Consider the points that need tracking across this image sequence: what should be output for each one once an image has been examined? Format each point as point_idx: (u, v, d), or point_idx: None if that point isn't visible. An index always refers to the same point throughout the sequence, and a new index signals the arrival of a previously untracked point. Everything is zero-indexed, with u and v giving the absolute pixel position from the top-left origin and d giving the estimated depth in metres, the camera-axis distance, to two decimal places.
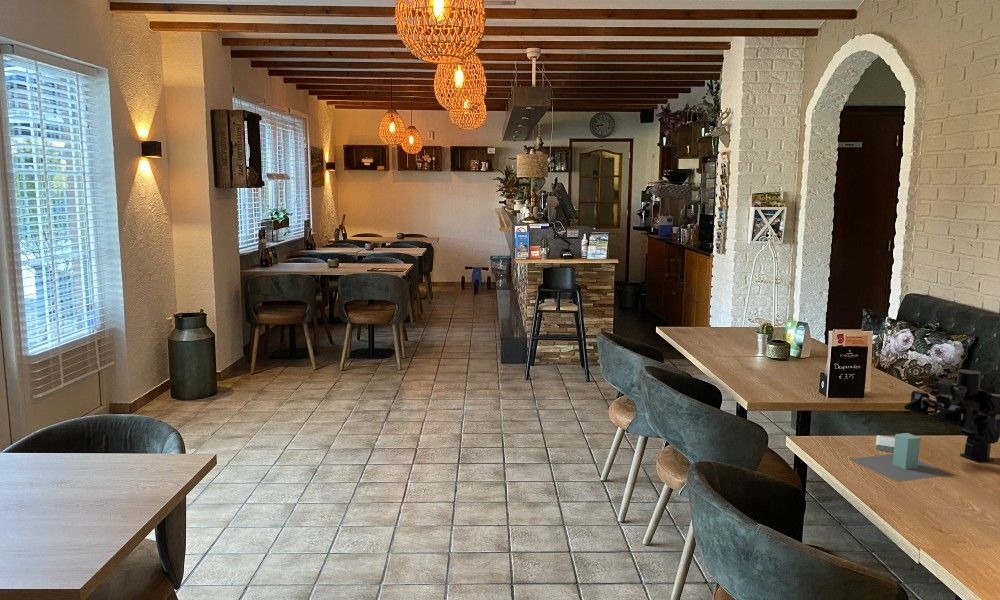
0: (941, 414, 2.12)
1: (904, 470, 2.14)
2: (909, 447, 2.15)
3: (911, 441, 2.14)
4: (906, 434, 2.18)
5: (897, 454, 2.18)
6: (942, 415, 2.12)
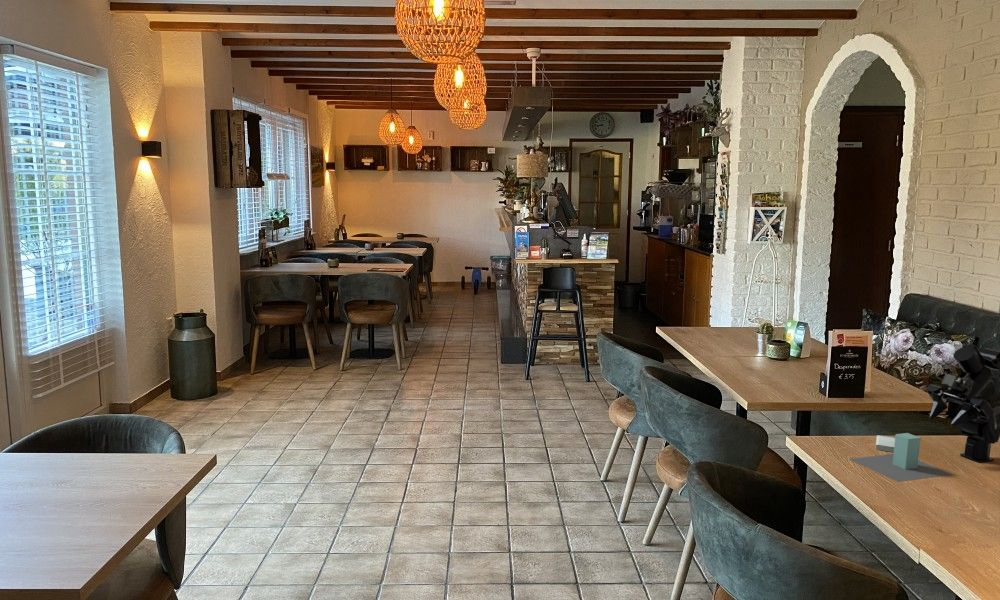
0: (959, 419, 2.16)
1: (904, 470, 2.14)
2: (909, 447, 2.15)
3: (911, 441, 2.14)
4: (906, 434, 2.18)
5: (897, 454, 2.18)
6: (960, 419, 2.16)
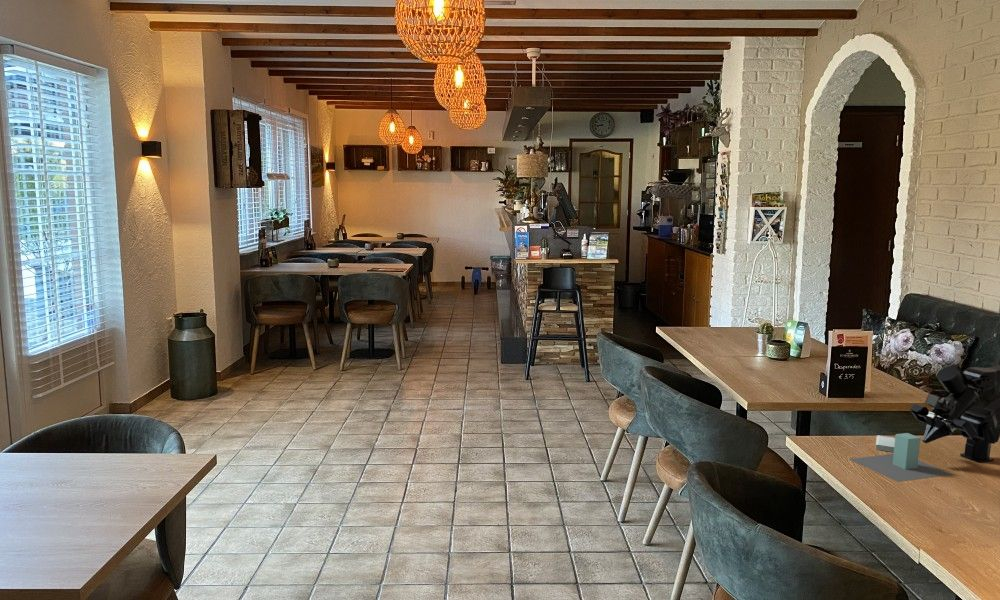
0: (932, 435, 2.18)
1: (904, 470, 2.14)
2: (909, 447, 2.15)
3: (911, 441, 2.14)
4: (906, 434, 2.18)
5: (897, 454, 2.18)
6: (933, 435, 2.18)
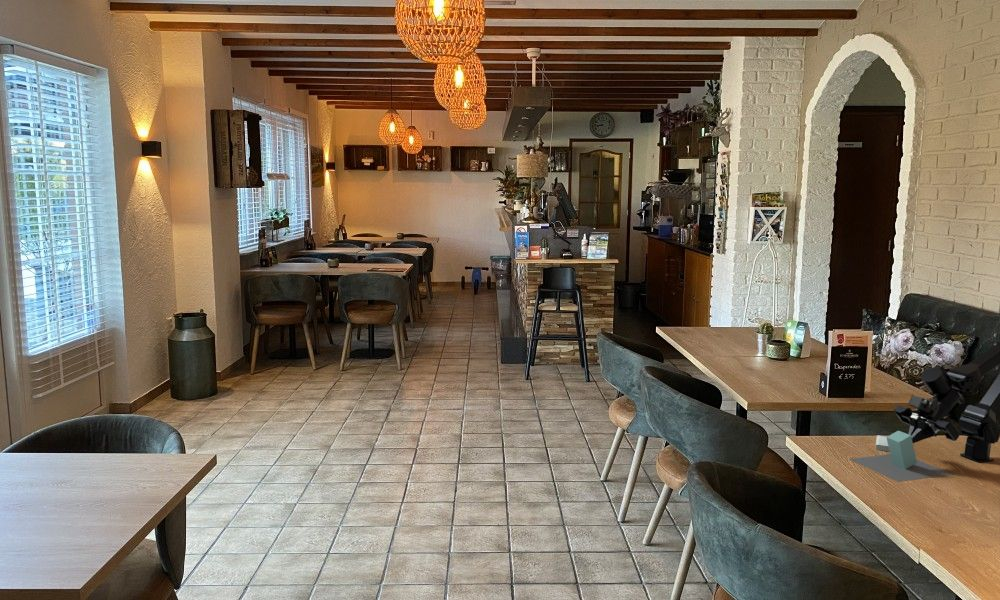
0: (915, 437, 2.16)
1: (904, 470, 2.14)
2: (902, 448, 2.14)
3: (902, 442, 2.13)
4: (897, 433, 2.17)
5: (893, 455, 2.17)
6: (916, 437, 2.16)
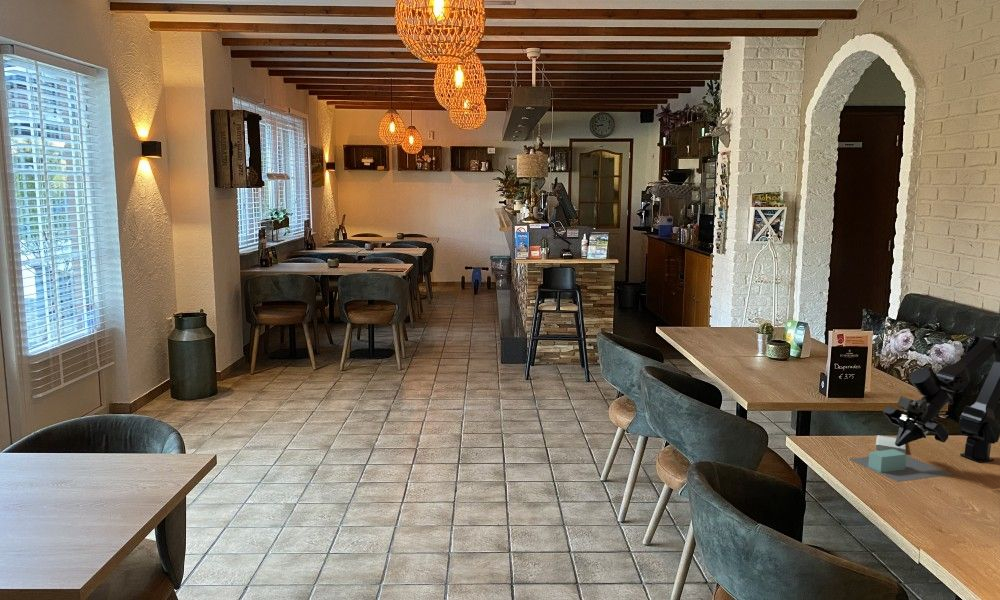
0: (904, 438, 2.15)
1: (904, 470, 2.14)
2: (887, 468, 2.13)
3: (882, 468, 2.12)
4: (871, 458, 2.15)
5: None
6: (905, 438, 2.15)
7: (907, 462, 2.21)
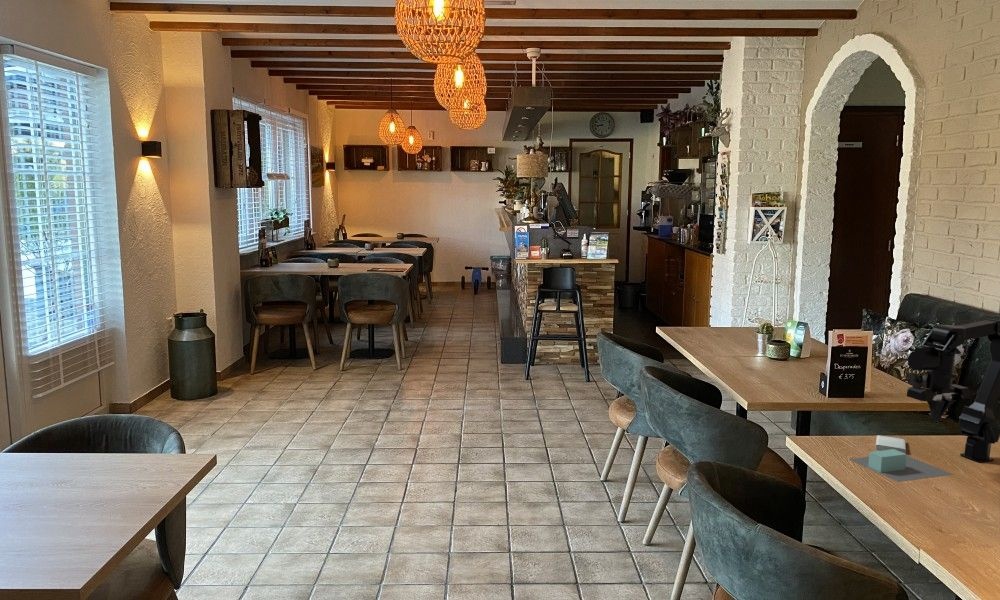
0: (932, 412, 2.19)
1: (904, 470, 2.14)
2: (887, 468, 2.13)
3: (882, 468, 2.12)
4: (871, 458, 2.15)
5: None
6: (932, 411, 2.19)
7: (907, 462, 2.21)
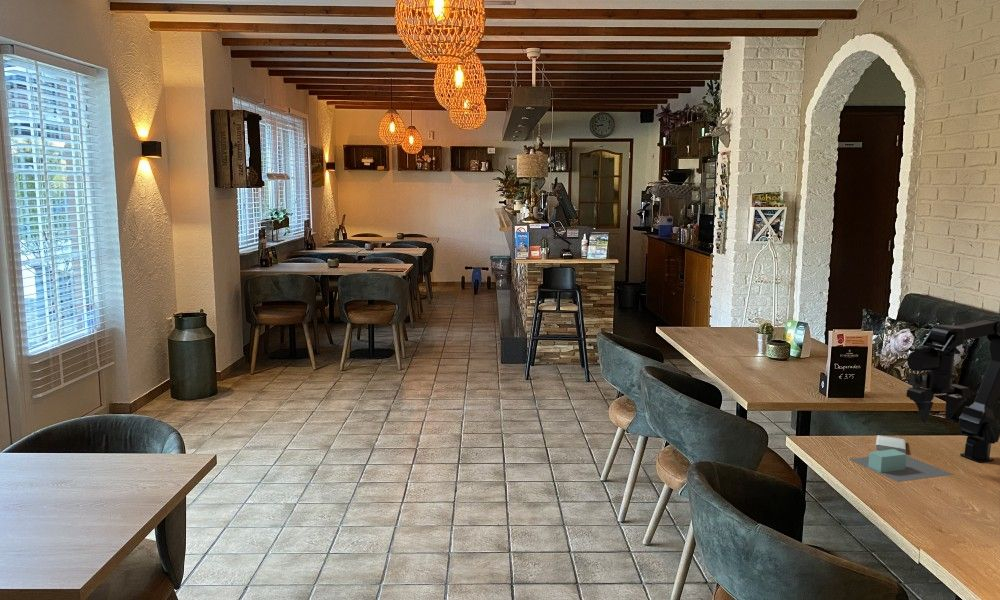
0: (920, 413, 2.18)
1: (904, 470, 2.14)
2: (887, 468, 2.13)
3: (882, 468, 2.12)
4: (871, 458, 2.15)
5: None
6: (921, 413, 2.17)
7: (907, 462, 2.21)
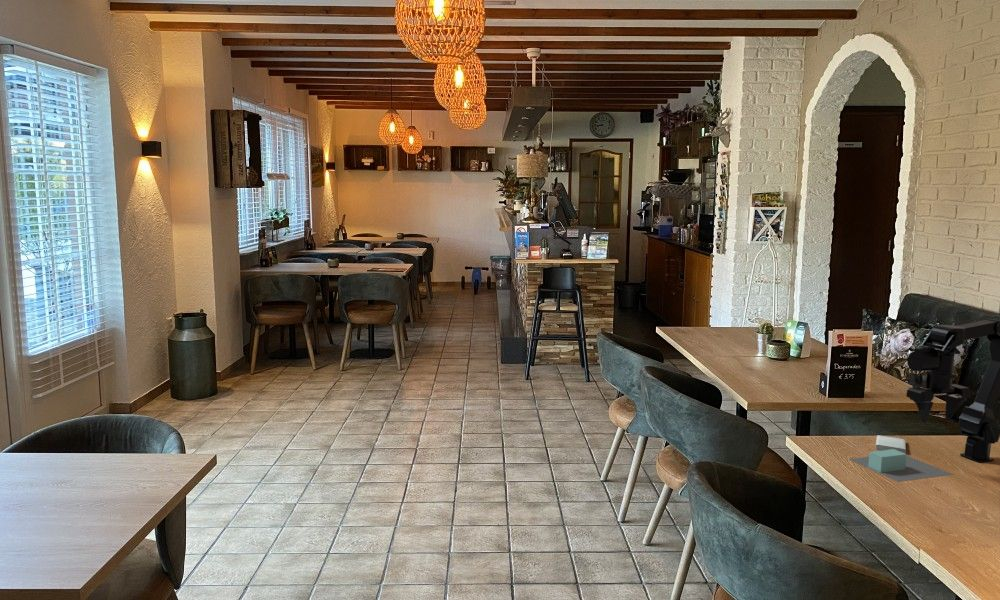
0: (920, 413, 2.18)
1: (904, 470, 2.14)
2: (887, 468, 2.13)
3: (882, 468, 2.12)
4: (871, 458, 2.15)
5: None
6: (921, 413, 2.17)
7: (907, 462, 2.21)
